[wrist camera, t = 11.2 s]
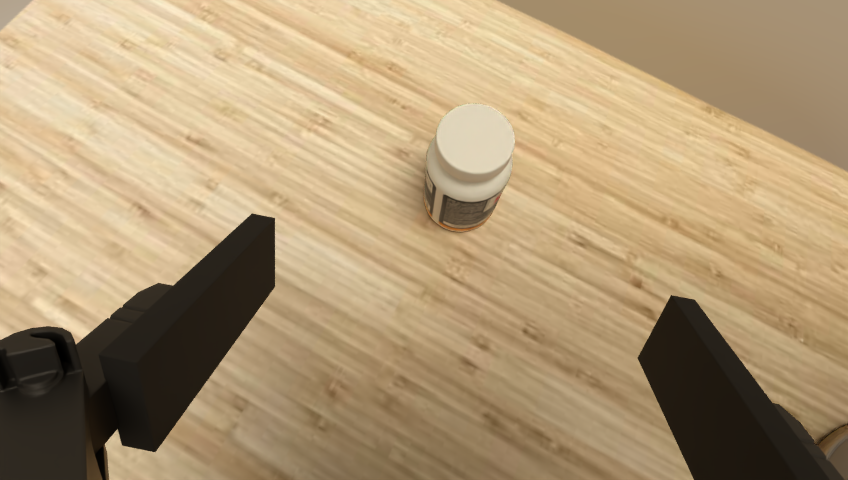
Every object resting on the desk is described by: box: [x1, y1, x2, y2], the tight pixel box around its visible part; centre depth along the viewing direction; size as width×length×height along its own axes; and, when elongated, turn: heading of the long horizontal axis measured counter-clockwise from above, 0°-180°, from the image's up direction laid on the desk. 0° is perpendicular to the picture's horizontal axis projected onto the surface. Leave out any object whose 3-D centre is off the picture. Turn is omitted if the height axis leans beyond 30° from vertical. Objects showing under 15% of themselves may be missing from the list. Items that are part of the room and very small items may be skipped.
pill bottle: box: [424, 103, 515, 232], centre depth 30 cm, size 6×6×10 cm
